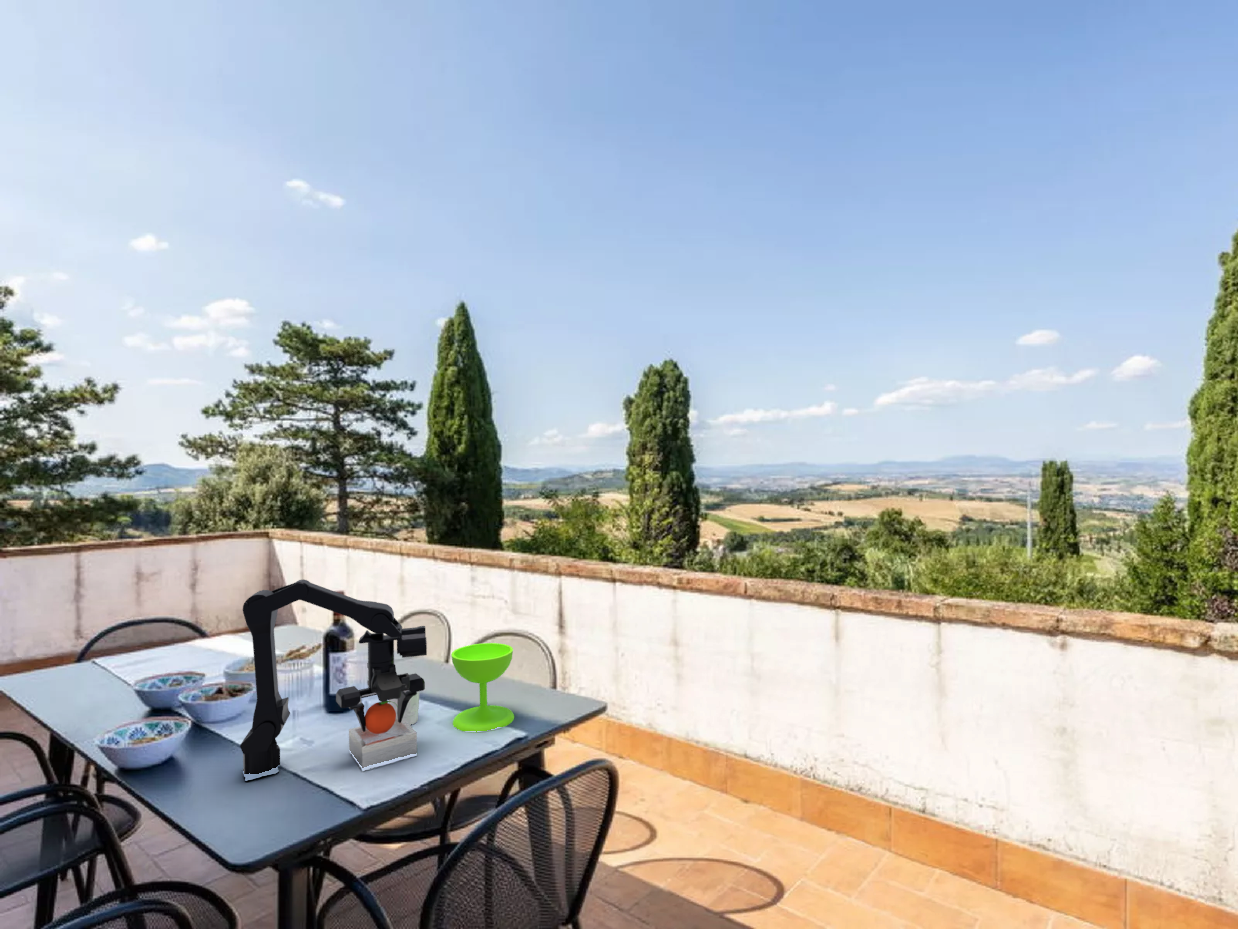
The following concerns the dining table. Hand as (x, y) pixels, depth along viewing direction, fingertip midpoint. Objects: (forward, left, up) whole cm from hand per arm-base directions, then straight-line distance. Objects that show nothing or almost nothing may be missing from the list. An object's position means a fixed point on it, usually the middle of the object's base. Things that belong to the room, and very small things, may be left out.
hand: (381, 726), depth 145 cm
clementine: (0, 0, -1) cm, 1 cm away
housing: (0, 0, -6) cm, 6 cm away
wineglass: (+27, +4, -7) cm, 28 cm away
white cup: (+10, +16, -7) cm, 20 cm away
